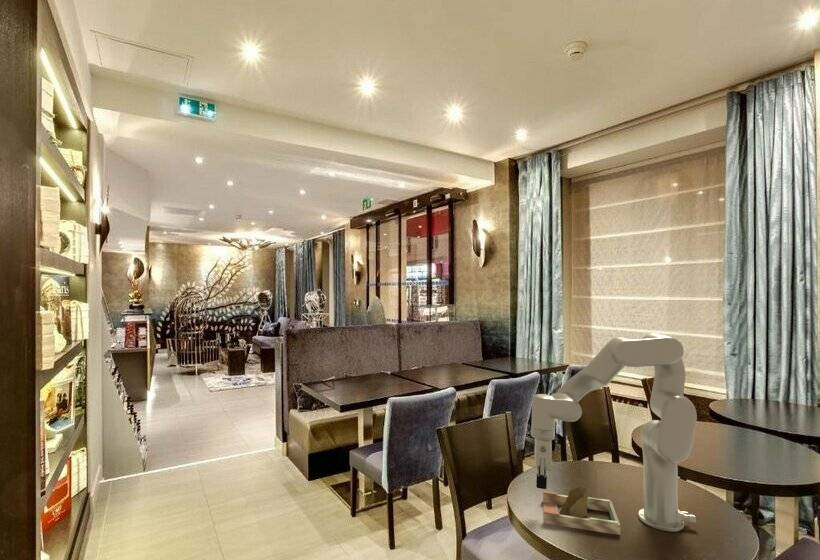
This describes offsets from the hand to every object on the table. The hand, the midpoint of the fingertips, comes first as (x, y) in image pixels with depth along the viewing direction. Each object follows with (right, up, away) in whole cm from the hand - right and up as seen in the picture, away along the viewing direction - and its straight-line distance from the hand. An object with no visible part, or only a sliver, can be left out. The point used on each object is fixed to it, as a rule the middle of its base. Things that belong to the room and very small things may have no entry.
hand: (541, 487), depth 141 cm
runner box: (+11, -8, -3) cm, 14 cm away
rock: (+9, -8, -3) cm, 13 cm away
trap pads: (+3, -8, -1) cm, 8 cm away
